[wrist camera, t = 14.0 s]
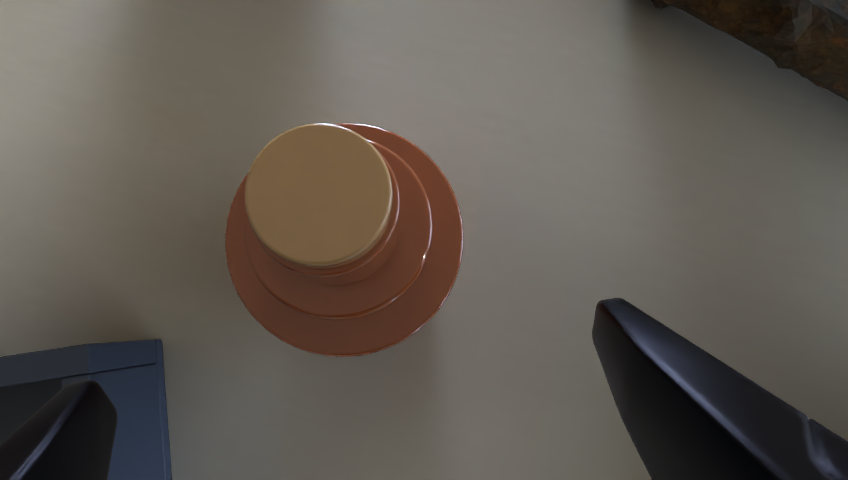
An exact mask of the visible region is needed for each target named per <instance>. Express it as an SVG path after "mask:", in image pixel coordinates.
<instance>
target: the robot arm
mask: <svg viewBox="0 0 848 480" xmlns="http://www.w3.org/2000/svg"><path fill="white" fill-rule="evenodd" d="M592 337H593V342H594V345H595V348H596V351H597V354H598V356H599V359H600V362H601V364H602V367H603V370H604V373H605V375H606V378H607V381H608V384H609V386H610V389H611V392H612V394H613V397H614V400H615V403H616V405H617V408H618V410H619V413H620V415H621V418H622V420H623V422H624V424H625V426H626V429H627V431H628V433H629V435H630V437H631V439H632V441H633V443H634V445H635V447H636V449H637V451H638V453H639V455H640V457H641V459H642V461H643V463H644V465H645V467H646V469H647V471H648V473H649V475H650V477H651V479H652V480H848V441H846V440H845V439H843V438H841V437H840V436H838V435H837V434H835V433H833V432H832V431H830V430H829V429H827V428H826V427H824V426H822V425H821V424H819V423H818V422H816V421H815V420H813V419H809V420H808V418H807V416H806V415H805V414H803V413H802V412H800V411H799V410H797V409H795V408H794V407H792V406H791V405H789V404H787V403H786V402H784V401H783V400H781V399H780V398H778V397H776V396H775V395H773V394H772V393H770V392H769V391H767V390H765V389H764V388H762V387H761V386H759V385H758V384H756V383H754V382H753V381H751V380H750V379H748V378H747V377H745V376H743V375H742V374H740V373H739V372H737V371H736V370H734V369H732V368H731V367H729V366H728V365H726V364H725V363H723V362H721V361H720V360H718V359H717V358H715V357H714V356H712V355H710V354H709V353H707V352H706V351H704V350H703V349H701V348H699V347H698V346H696V345H695V344H693V343H692V342H690V341H688V340H687V339H685V338H684V337H682V336H681V335H679V334H677V333H676V332H674V331H673V330H671V329H670V328H668V327H666V326H665V325H663V324H662V323H660V322H659V321H657V320H655V319H654V318H652V317H651V316H649V315H647V314H646V313H644V312H643V311H641V310H640V309H638V308H636V307H635V306H633V305H632V304H630V303H629V302H627V301H625V300H624V299H621V298H613V299H606V300H601V301H599V302H598V304H597V306H596V311H595V318H594V324H593V330H592ZM117 420H118V416H117V411H116V408H115V406H114V405H113V403H112V402H111V400H110V399H109V397H108V396H107V394H106V393H105V392H104V390H103V389H102V387H101V386H100V384H99V383H98V382H96V381H94V380H86V381H80V382H74V383H70V384H68V385H66V386H65V387H63V388H62V389H61V390H60V391H59V392H58V393H57V394H55V395H54V396H53V397H52V398H51V399H50V400H49V401H48V402H47V403H45V404H44V405H43V406H42V407H41V408H40V409H39V410H38V411H36V412H35V413H34V414H33V415H32V416H31V417H30V418H29V419H28V420H26V421H25V422H24V423H23V424H22V425H21V426H20V427H19V428H17V429H16V430H15V431H14V432H13V433H12V434H11V435H10V436H9V437H7V438H6V439H5V440H4V441H3V442H2V443H1V444H0V480H107V479H108V474H109V468H110V462H111V456H112V450H113V445H114V439H115V433H116V427H117Z"/></svg>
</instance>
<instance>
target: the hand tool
mask: <svg viewBox="0 0 848 480" xmlns="http://www.w3.org/2000/svg"><path fill="white" fill-rule="evenodd" d="M651 1H652V3H653V5H654V6H655V8H664V7H666V6H668V5H671V6H674V7H677V8H679V9H682V10H684V11H686V12H687V13H689V14H691V15H693V16H695V17H696V18H698V19H700V20H701V21H703V22H705V23H706V24H708V25H710V26H712V27H713V28H715V29H718V30H720V31H723V32H725V33H727V34H729V35H731V36H733V37H735V38H736V39H738V40H740V41H742V42H744V43H746V44H747V45H749V46H751V47H753V48H755V49H756V50H758V51H760V52H762V53H764V54H765V55H767V56H768V57H770V58H771V59H772V60H773V61H774V62H775V64H776V65H777V67H778V68H787V69H792V70H794V71H795V72H797V73H799V74H800V75H801V76H803V77H805V78H807V79H809V80H810V81H811V82H813V83H814V84H815V85H817V86H820V87H822V88H825V89H828V90H829V91H831V92H833V93H835V94H836V95H838V96H840V97H842V98H844V99H845V100H847V101H848V0H651Z"/></svg>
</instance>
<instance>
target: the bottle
mask: <svg viewBox="0 0 848 480" xmlns="http://www.w3.org/2000/svg"><path fill="white" fill-rule="evenodd" d="M225 251H226V258H227V265H228V269H229V273H230V276H231V280H232V282H233V285H234V287H235V289H236V291H237V294H238V296H239V297H240V299H241V300H242V302H243V304H244V305H245V307H246V309H247V310H248V311H249V312H250V313H251V315H252V316H253V317H254V318H255V319H256V321H257V322H259V323H260V324H261V325H262V326H263V327H264V328H265V329H266V330H267V331H268V332H270V333H271V334H273V335H274V336H276V337H277V338H279V339H280V340H282V341H283V342H285V343H287V344H289V345H291V346H293V347H295V348H298V349H301V350H304V351H307V352H310V353H314V354H319V355H324V356H334V357H351V356H361V355H366V354H371V353H375V352H378V351H381V350H384V349H387V348H390V347H392V346H394V345H396V344H398V343H400V342H402V341H404V340H405V339H407V338H408V337H410V336H411V335H413V334H414V333H416V332H417V331H418V330H419V329H421V328H422V327H423V326H424V325H425V324H426V323H427V322H428V321H429V320H430V319H431V318H432V317H433V316H434V315H435V314H436V312H437V311H438V310H439V309H440V307H441V306H442V304H443V303H444V301H445V300H446V298H447V297H448V295H449V293H450V291H451V289H452V287H453V285H454V283H455V280H456V277H457V274H458V271H459V268H460V264H461V258H462V253H463V224H462V218H461V213H460V209H459V205H458V202H457V200H456V197H455V194H454V192H453V190H452V188H451V186H450V184H449V182H448V180H447V178H446V177H445V176H444V174H443V173H442V171H441V170H440V168H439V167H438V166H437V165H436V164H435V163H434V161H433V160H432V159H431V158H430V157H429V156H428V155H427V154H426V153H424V152H423V151H422V150H421V149H420V148H419V147H417V146H416V145H414V144H413V143H411V142H410V141H408V140H407V139H405V138H403V137H401V136H399V135H397V134H395V133H393V132H390V131H387V130H384V129H381V128H378V127H373V126H369V125H364V124H352V123H342V124H323V123H318V124H308V125H302V126H299V127H295V128H292V129H290V130H288V131H286V132H284V133H282V134H280V135H279V136H277V137H276V138H274V139H273V140H272V141H270V142H269V143H268V144H267V145H266V146H265V147H264V148H263V149H262V151H261V152H260V153H259V155H258V156H257V157H256V159H255V161H254V162H253V164H252V166H251V169H250V171H249V172H248V174H247V175H246V176H245V178H244V180H243V181H242V183H241V185H240V187H239V188H238V190H237V192H236V195H235V197H234V199H233V202H232V204H231V208H230V211H229V215H228V219H227V226H226V233H225Z"/></svg>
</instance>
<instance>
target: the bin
mask: <svg viewBox="0 0 848 480" xmlns="http://www.w3.org/2000/svg"><path fill="white" fill-rule="evenodd" d="M86 380H94V381H96V382H98V383H99V384H100V386H101V387H102V389H103V390H104V392H105V393H106V394H107V396H108V397H109V399H110V400H111V402H112V403H113V405H114V406H115V408H116V411H117V416H118V420H117V427H116V433H115V439H114V445H113V450H112V456H111V462H110V468H109V474H108V479H107V480H172V475H171V461H170V448H169V434H168V420H167V407H166V393H165V380H164V366H163V353H162V340H161V339H155V340H140V341H125V342H109V343H94V344H83V345H77V346H70V347H63V348H57V349H50V350H43V351H37V352H30V353H23V354H17V355H10V356H3V357H0V444H1V443H2V442H3V441H4V440H5V439H6V438H7V437H9V436H10V435H11V434H12V433H13V432H14V431H15V430H16V429H17V428H19V427H20V426H21V425H22V424H23V423H24V422H25V421H26V420H28V419H29V418H30V417H31V416H32V415H33V414H34V413H35V412H36V411H38V410H39V409H40V408H41V407H42V406H43V405H44V404H45V403H47V402H48V401H49V400H50V399H51V398H52V397H53V396H54V395H55V394H57V393H58V392H59V391H60V390H61V389H62V388H63V387H65V386H66V385H68V384H70V383H74V382H80V381H86Z"/></svg>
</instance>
